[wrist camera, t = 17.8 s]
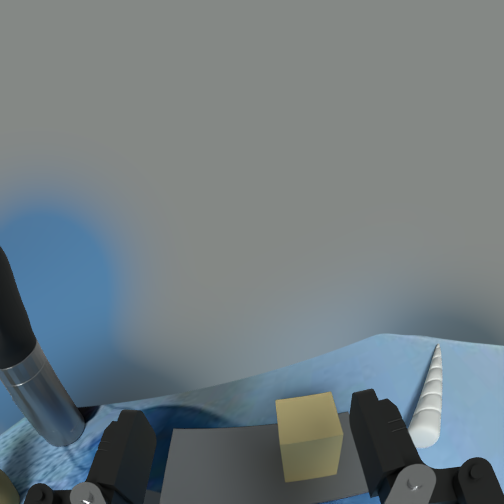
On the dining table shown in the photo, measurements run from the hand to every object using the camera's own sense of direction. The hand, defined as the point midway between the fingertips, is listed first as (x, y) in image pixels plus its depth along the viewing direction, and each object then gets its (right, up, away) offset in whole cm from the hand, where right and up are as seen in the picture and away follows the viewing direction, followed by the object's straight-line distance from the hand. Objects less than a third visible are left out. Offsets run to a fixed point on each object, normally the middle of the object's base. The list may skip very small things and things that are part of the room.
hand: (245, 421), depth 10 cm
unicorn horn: (+28, -16, +28) cm, 43 cm away
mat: (+2, -21, +22) cm, 31 cm away
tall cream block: (+7, -20, +22) cm, 31 cm away
